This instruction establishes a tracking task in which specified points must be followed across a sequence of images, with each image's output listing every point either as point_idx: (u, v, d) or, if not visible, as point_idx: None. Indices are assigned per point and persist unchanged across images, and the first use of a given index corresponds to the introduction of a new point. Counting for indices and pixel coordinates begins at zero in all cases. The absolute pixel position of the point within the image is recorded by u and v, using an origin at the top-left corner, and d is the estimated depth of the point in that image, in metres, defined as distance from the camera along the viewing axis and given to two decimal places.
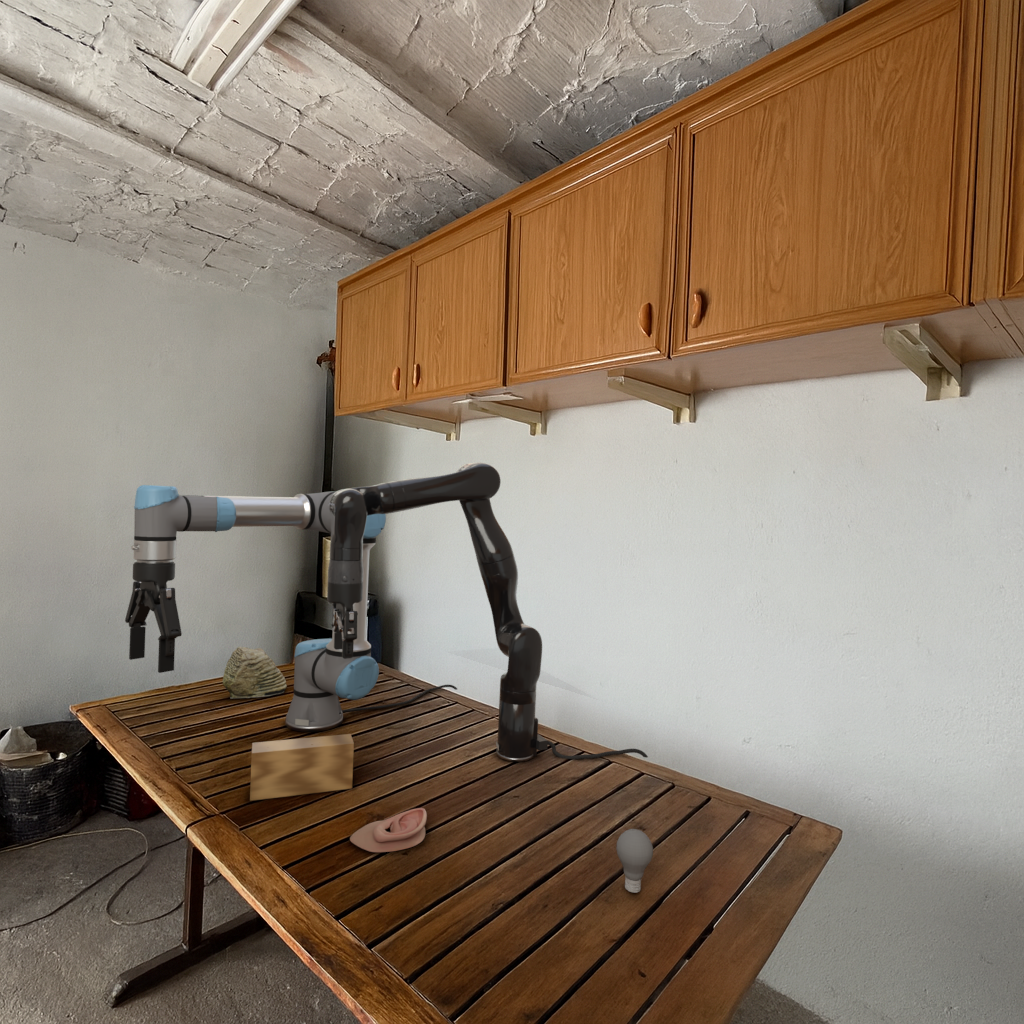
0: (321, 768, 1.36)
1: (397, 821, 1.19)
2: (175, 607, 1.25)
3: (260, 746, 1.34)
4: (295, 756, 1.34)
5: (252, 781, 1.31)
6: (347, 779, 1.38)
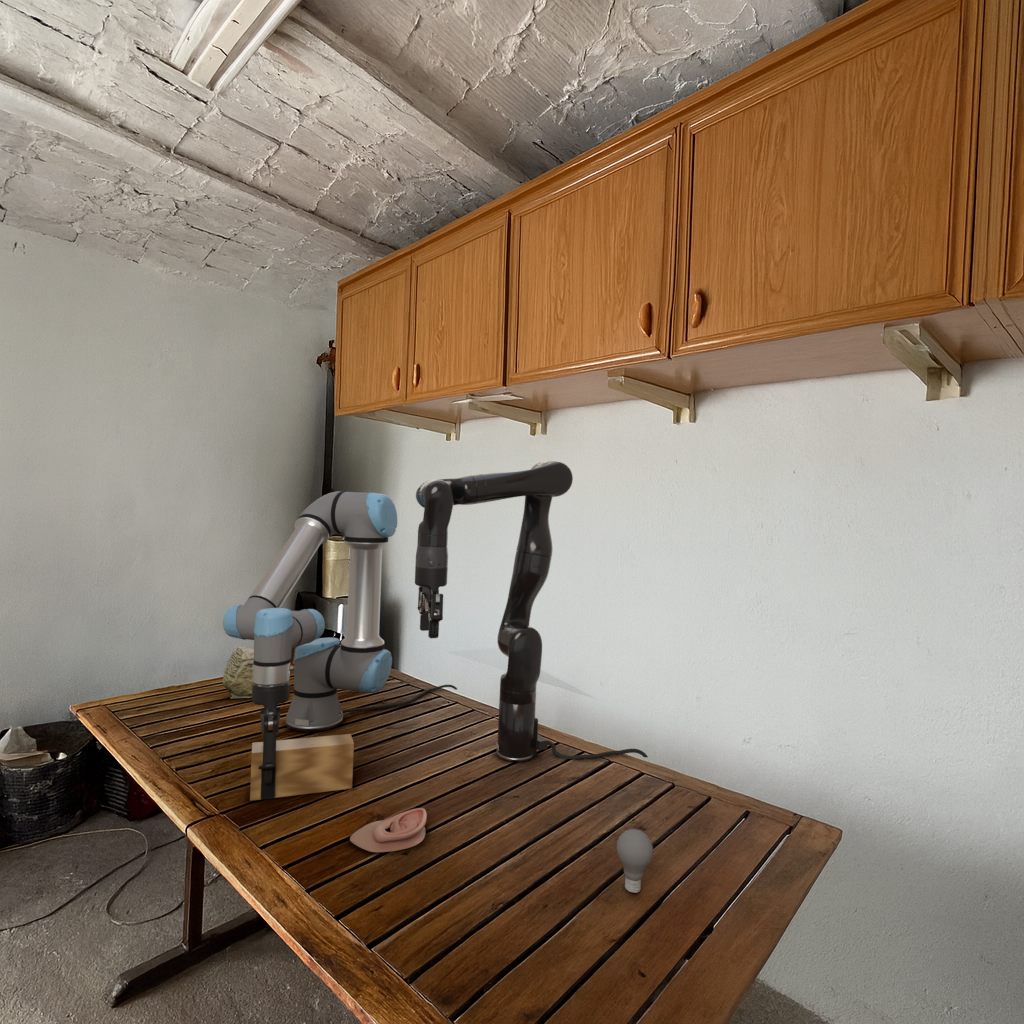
0: (321, 768, 1.36)
1: (397, 821, 1.19)
2: None
3: (260, 746, 1.34)
4: (295, 756, 1.34)
5: (252, 781, 1.31)
6: (347, 779, 1.38)
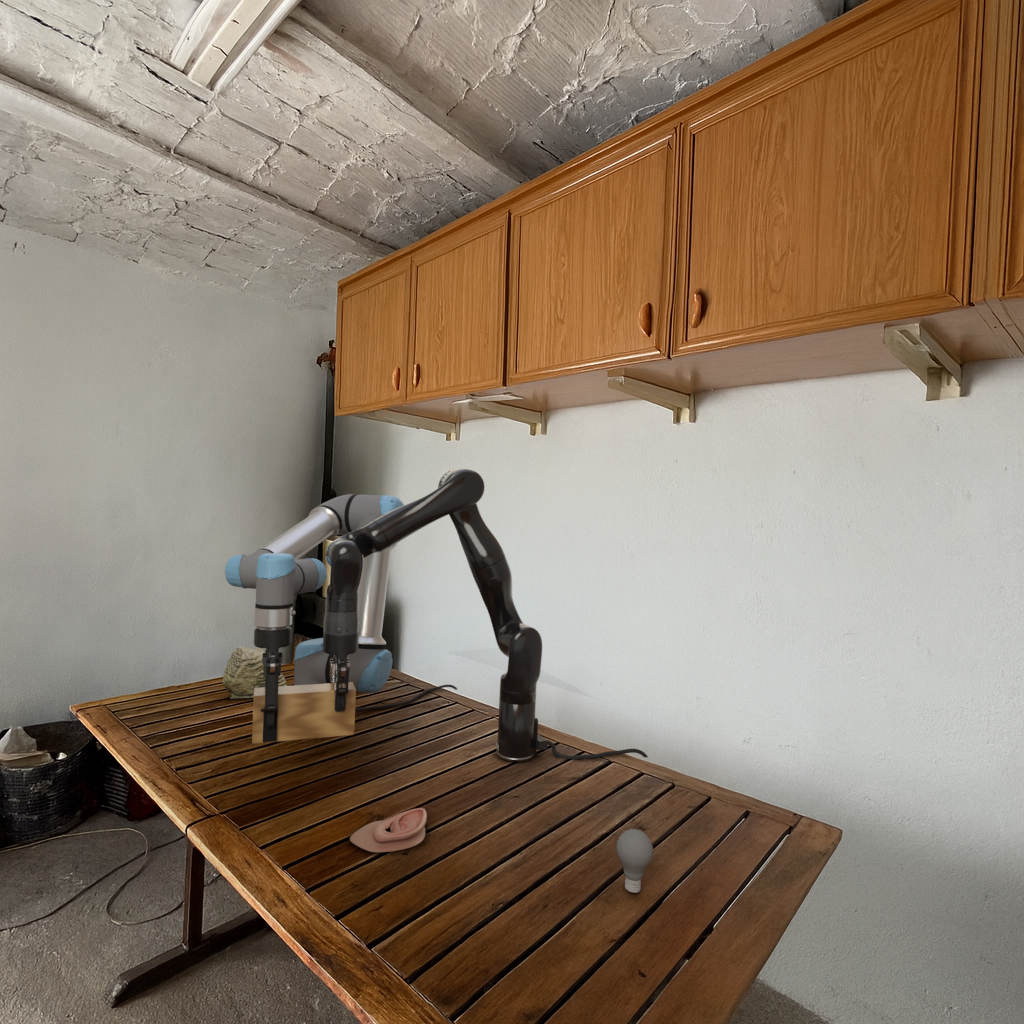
0: (323, 713, 1.35)
1: (397, 821, 1.19)
2: None
3: (262, 690, 1.34)
4: (297, 700, 1.33)
5: (254, 724, 1.31)
6: (349, 725, 1.37)
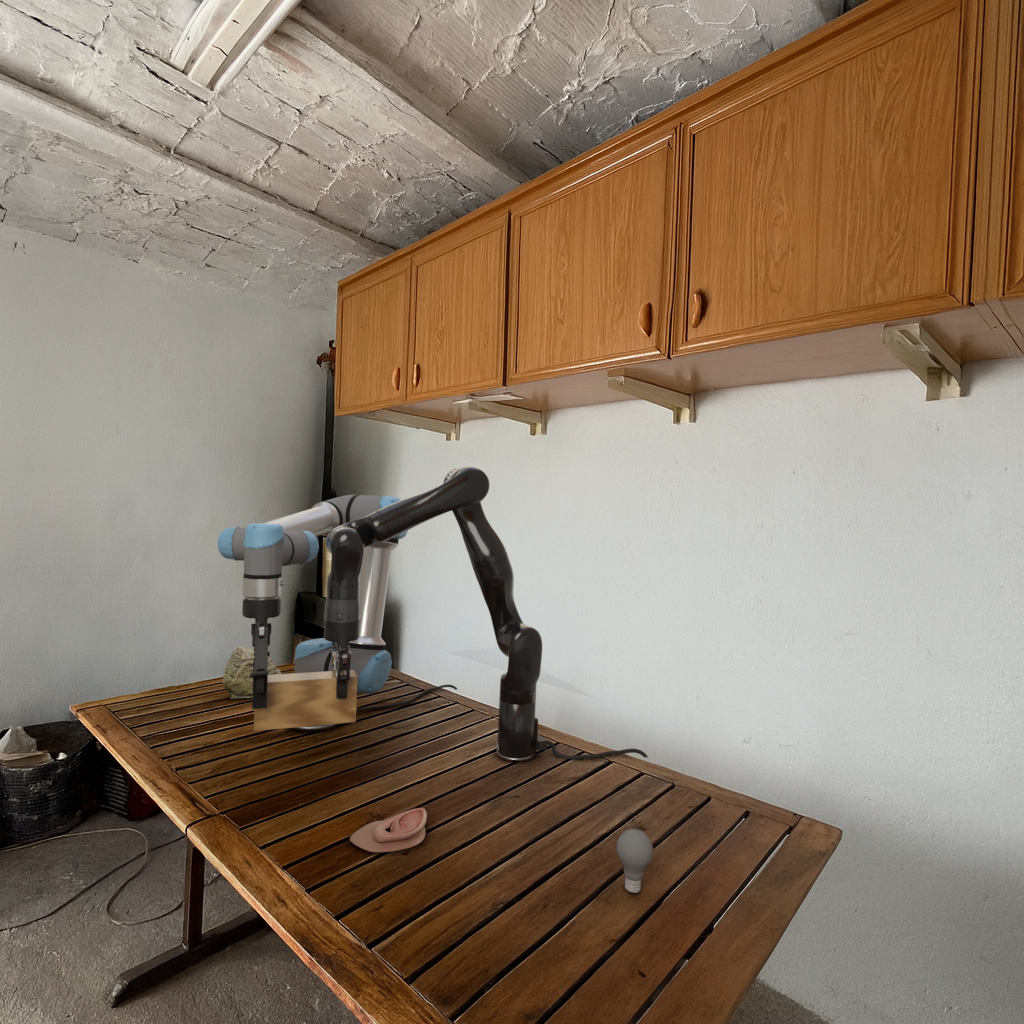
0: (325, 701, 1.35)
1: (397, 821, 1.19)
2: None
3: None
4: (299, 687, 1.33)
5: (256, 711, 1.31)
6: (350, 713, 1.37)
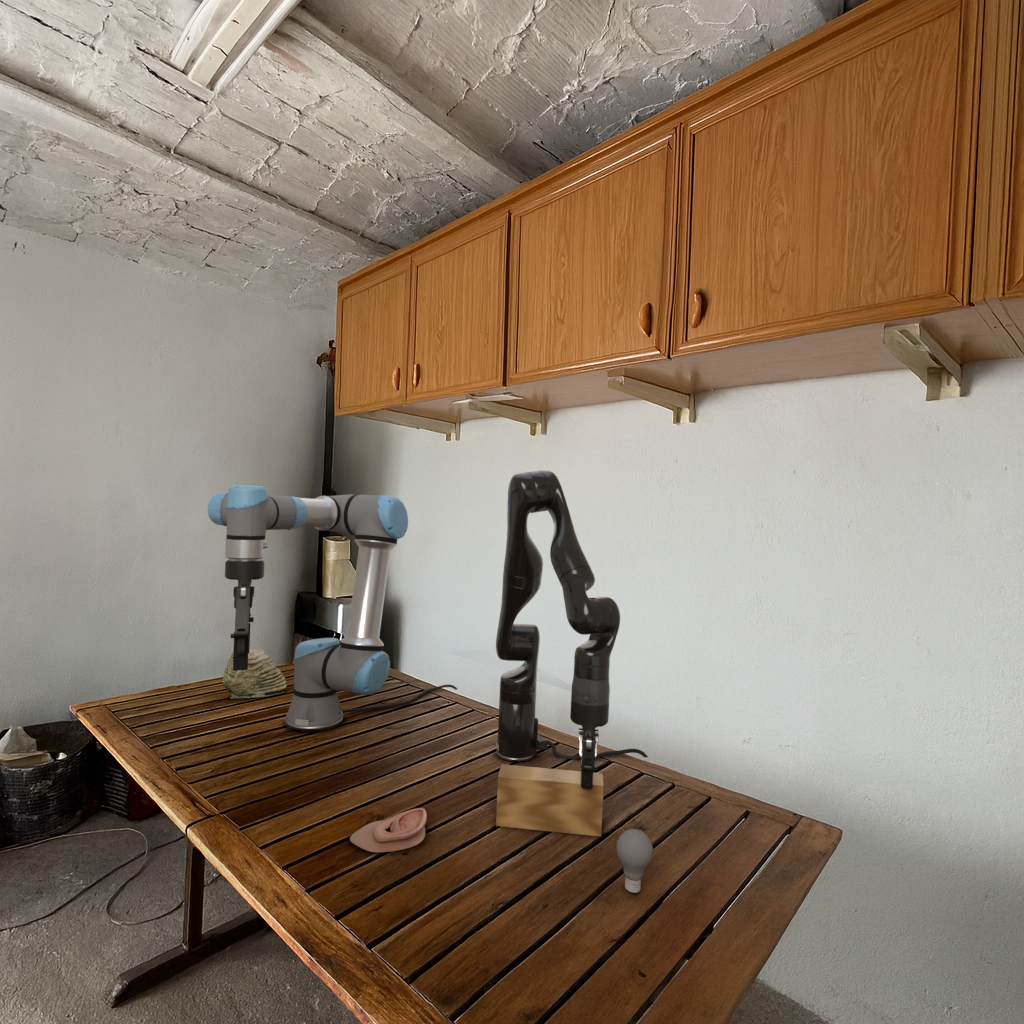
0: (568, 807, 1.23)
1: (397, 821, 1.19)
2: None
3: (508, 769, 1.28)
4: (541, 787, 1.24)
5: (498, 806, 1.25)
6: (595, 825, 1.23)
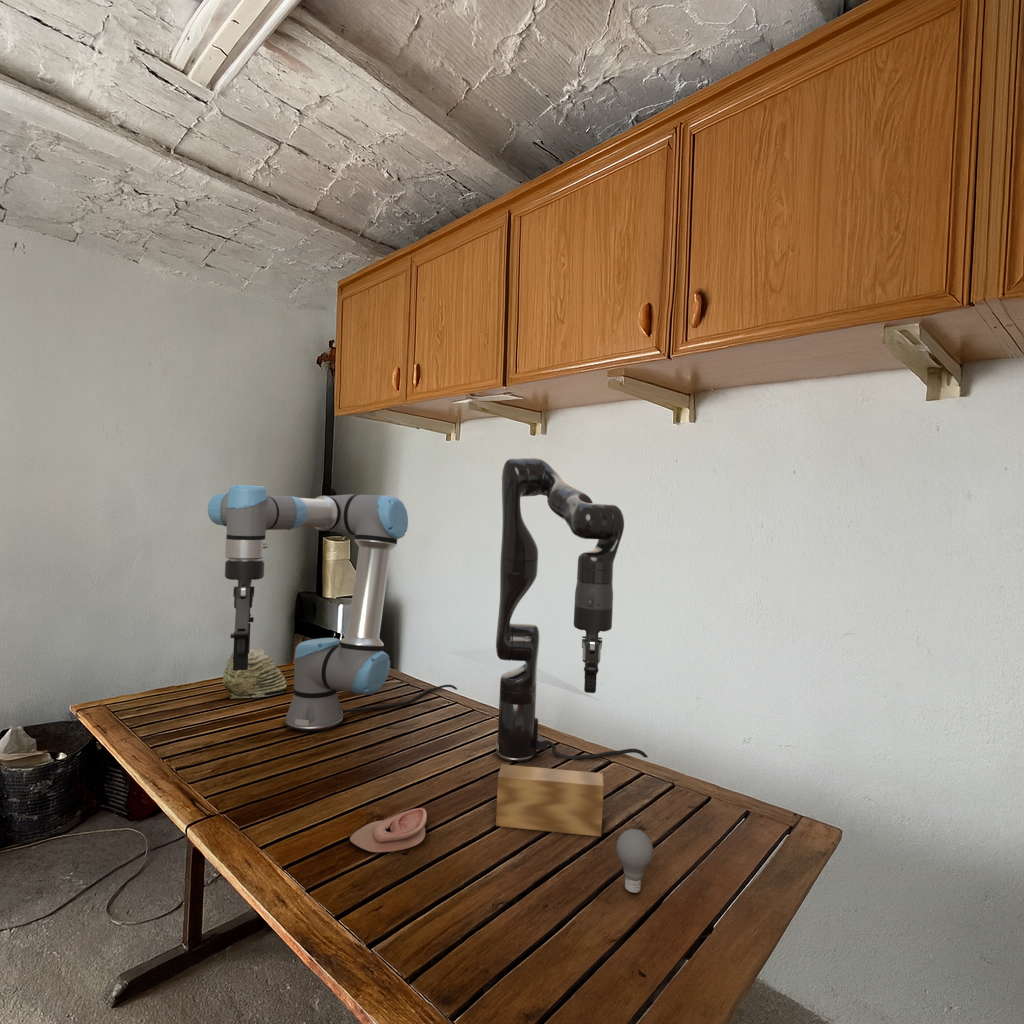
0: (568, 807, 1.23)
1: (397, 821, 1.19)
2: None
3: (508, 769, 1.28)
4: (541, 787, 1.24)
5: (498, 806, 1.25)
6: (595, 825, 1.23)
